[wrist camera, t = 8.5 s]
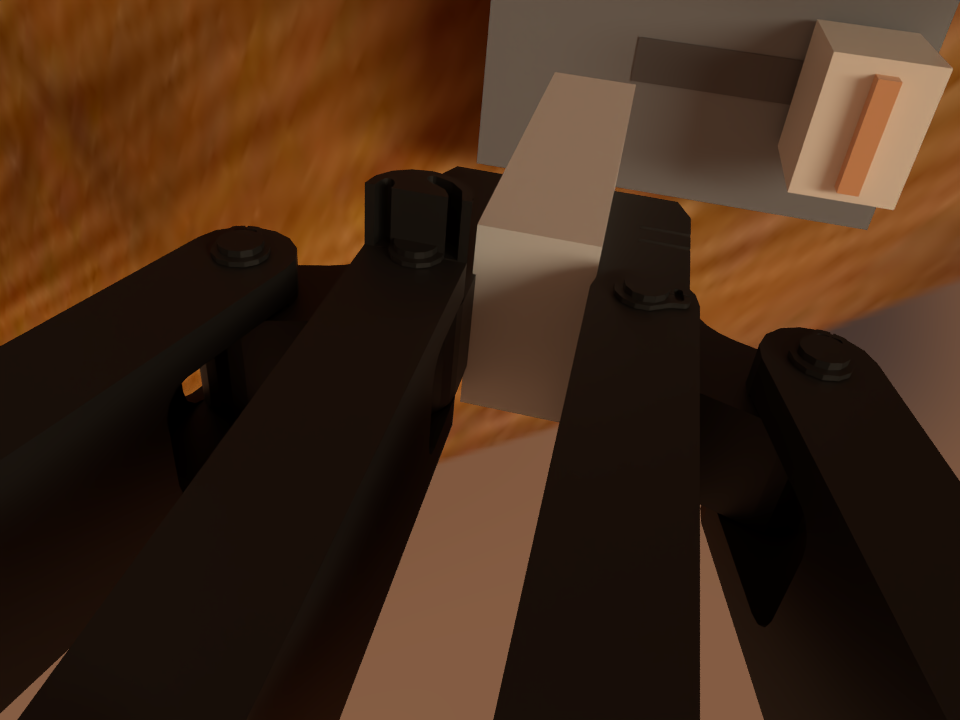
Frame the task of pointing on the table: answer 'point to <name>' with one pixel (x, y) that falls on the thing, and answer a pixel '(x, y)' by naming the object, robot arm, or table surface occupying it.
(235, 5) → the table surface
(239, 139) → the table surface
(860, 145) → the knob
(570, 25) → the switch unit
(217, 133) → the table surface
